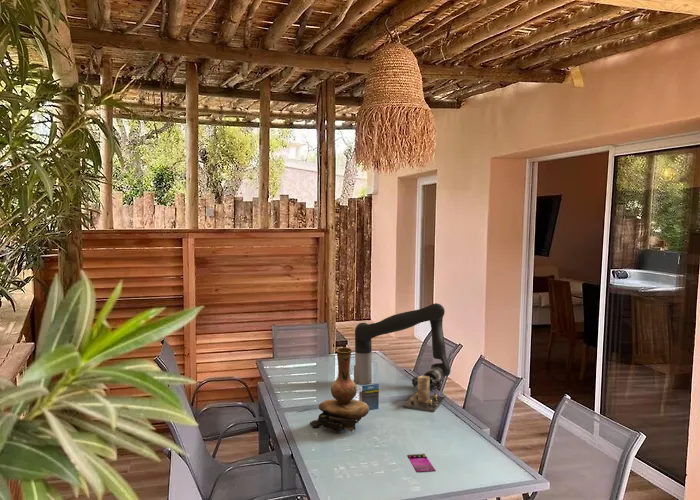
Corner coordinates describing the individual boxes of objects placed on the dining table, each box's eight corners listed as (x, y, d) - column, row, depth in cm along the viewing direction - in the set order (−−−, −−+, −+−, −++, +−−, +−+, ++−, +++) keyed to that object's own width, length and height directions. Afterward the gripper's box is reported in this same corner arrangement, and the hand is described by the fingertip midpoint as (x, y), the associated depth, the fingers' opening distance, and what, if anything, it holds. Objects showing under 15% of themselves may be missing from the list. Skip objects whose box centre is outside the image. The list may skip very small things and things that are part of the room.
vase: (319, 439, 227) (318, 355, 226) (307, 420, 249) (307, 344, 247) (373, 432, 234) (372, 351, 232) (357, 415, 255) (357, 340, 254)
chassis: (402, 407, 266) (402, 399, 266) (414, 395, 284) (414, 388, 284) (434, 411, 259) (434, 404, 259) (445, 399, 277) (445, 392, 277)
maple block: (418, 401, 271) (418, 377, 270) (420, 399, 275) (420, 375, 274) (426, 402, 269) (426, 378, 268) (429, 400, 273) (429, 376, 272)
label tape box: (375, 406, 268) (375, 381, 267) (379, 408, 264) (378, 383, 264) (358, 408, 265) (358, 383, 264) (362, 411, 261) (362, 385, 260)
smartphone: (424, 455, 212) (424, 453, 212) (436, 472, 197) (436, 469, 197) (406, 457, 211) (406, 454, 211) (416, 473, 196) (416, 470, 196)
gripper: (418, 368, 287) (409, 376, 272) (445, 371, 281) (437, 379, 266) (418, 383, 287) (409, 391, 273) (445, 386, 281) (437, 395, 267)
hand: (422, 385), depth 269 cm, fingers open, 8 cm apart
